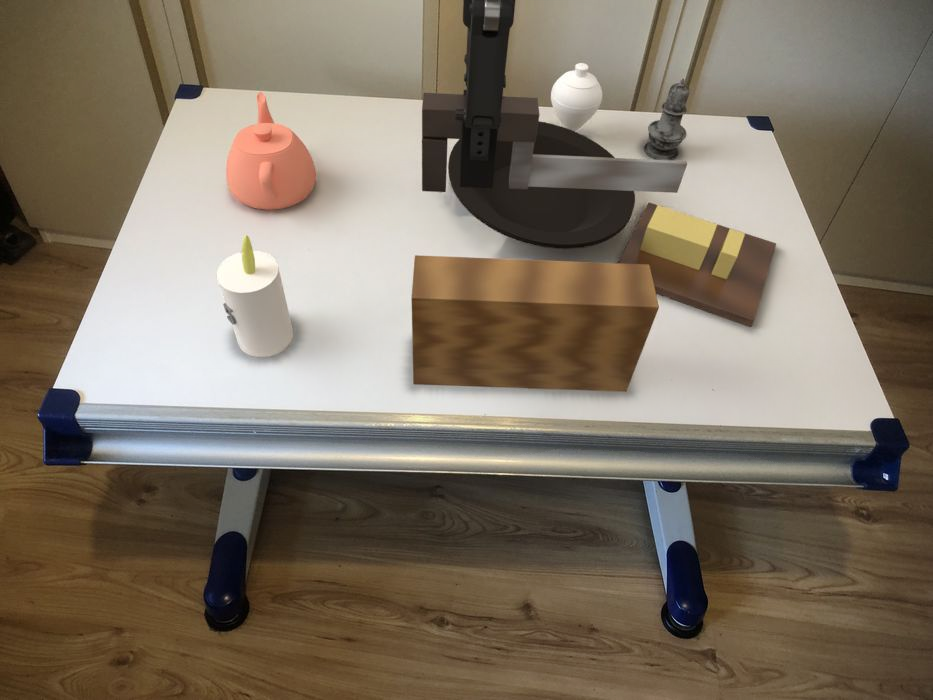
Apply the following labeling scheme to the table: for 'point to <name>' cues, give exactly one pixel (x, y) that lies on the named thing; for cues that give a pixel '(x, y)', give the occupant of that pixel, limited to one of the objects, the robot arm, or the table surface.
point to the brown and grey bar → (534, 168)
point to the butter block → (678, 237)
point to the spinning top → (576, 97)
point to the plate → (546, 197)
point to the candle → (255, 301)
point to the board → (708, 274)
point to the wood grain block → (529, 322)
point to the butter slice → (728, 254)
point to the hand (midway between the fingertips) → (476, 173)
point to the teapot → (269, 164)
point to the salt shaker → (669, 125)
